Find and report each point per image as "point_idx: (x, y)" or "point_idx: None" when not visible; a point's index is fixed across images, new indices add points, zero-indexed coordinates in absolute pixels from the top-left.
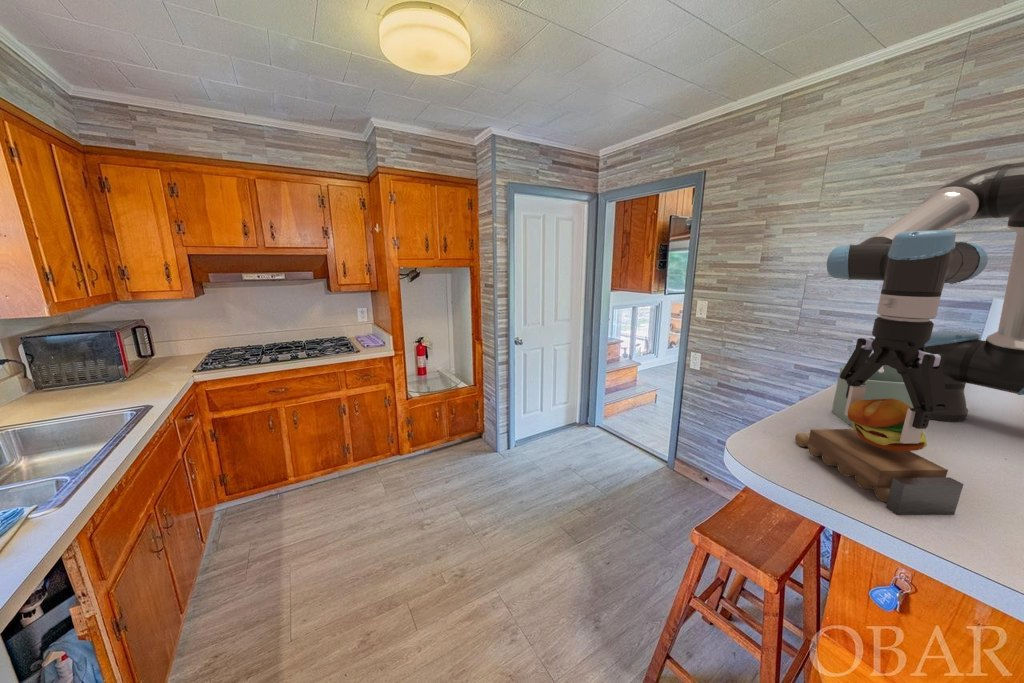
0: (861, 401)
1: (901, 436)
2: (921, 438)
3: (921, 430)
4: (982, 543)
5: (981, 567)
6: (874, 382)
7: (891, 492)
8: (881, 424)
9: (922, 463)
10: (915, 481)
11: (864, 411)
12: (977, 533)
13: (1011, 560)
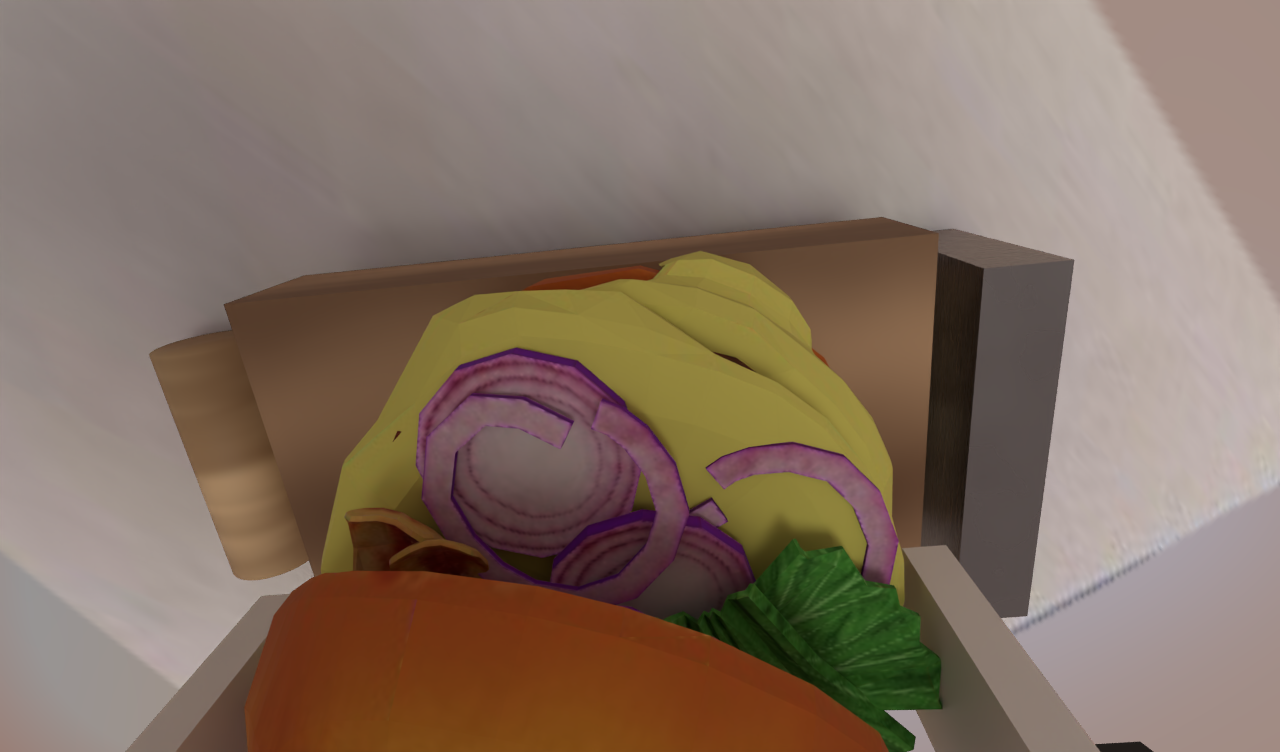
0: None
1: (925, 716)
2: (869, 456)
3: (1029, 665)
4: (1148, 306)
5: (1252, 450)
6: None
7: None
8: None
9: (837, 341)
10: (1005, 536)
11: None
12: (1090, 258)
13: (1254, 291)
